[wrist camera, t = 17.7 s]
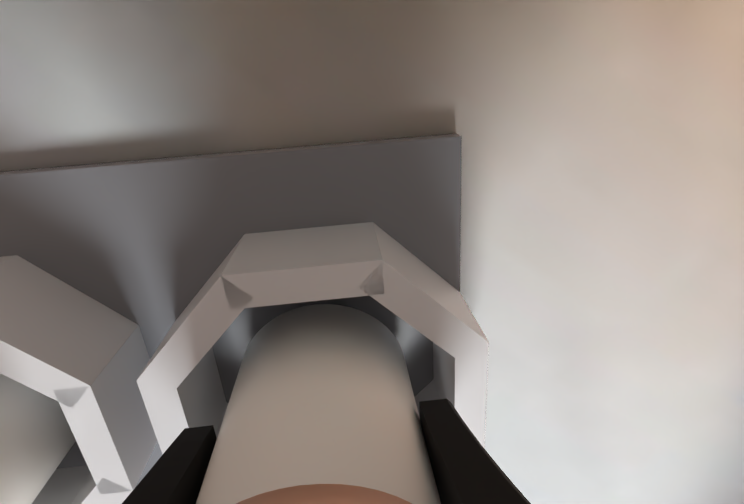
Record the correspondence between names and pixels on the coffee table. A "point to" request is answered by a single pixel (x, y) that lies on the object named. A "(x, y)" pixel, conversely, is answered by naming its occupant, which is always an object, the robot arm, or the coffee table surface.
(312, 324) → the rounded-end tube
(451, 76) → the coffee table surface
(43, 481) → the teal-capped white cylinder
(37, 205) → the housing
